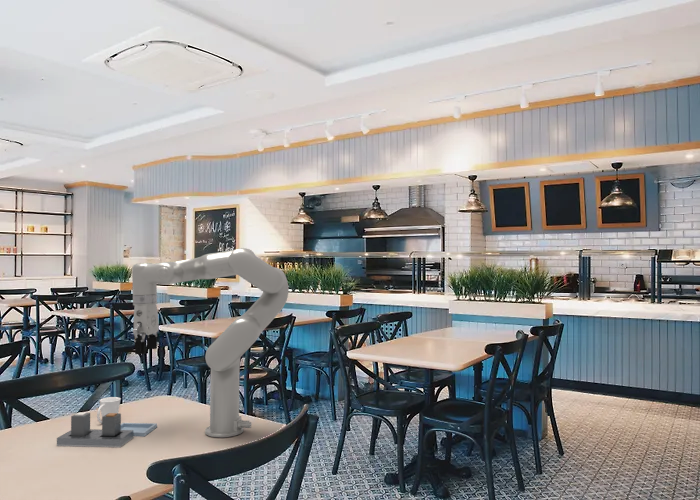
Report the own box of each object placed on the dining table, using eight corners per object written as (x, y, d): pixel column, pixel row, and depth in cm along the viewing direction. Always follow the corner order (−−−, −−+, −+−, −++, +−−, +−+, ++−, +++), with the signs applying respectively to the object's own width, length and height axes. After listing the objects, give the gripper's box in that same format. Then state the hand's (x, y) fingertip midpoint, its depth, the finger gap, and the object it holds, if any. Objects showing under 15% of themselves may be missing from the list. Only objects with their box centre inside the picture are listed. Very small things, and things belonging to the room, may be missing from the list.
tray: (156, 428, 189) (157, 423, 189) (144, 438, 179) (144, 432, 179) (122, 428, 189) (122, 422, 189) (108, 437, 179) (108, 431, 179)
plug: (90, 438, 176) (90, 411, 176) (83, 442, 172) (83, 415, 172) (77, 437, 176) (78, 411, 176) (70, 441, 172) (71, 415, 172)
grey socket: (133, 439, 177) (133, 410, 177) (120, 449, 168) (120, 418, 168) (73, 438, 178) (73, 409, 179) (56, 447, 169) (57, 417, 170)
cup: (124, 419, 199) (125, 397, 199) (106, 428, 189) (107, 404, 189) (107, 418, 200) (107, 396, 200) (88, 426, 191) (89, 403, 191)
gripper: (145, 302, 176) (146, 355, 175) (165, 297, 193) (166, 346, 193) (122, 302, 176) (123, 356, 176) (144, 298, 193) (145, 347, 193)
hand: (146, 351), depth 184 cm, fingers open, 9 cm apart
